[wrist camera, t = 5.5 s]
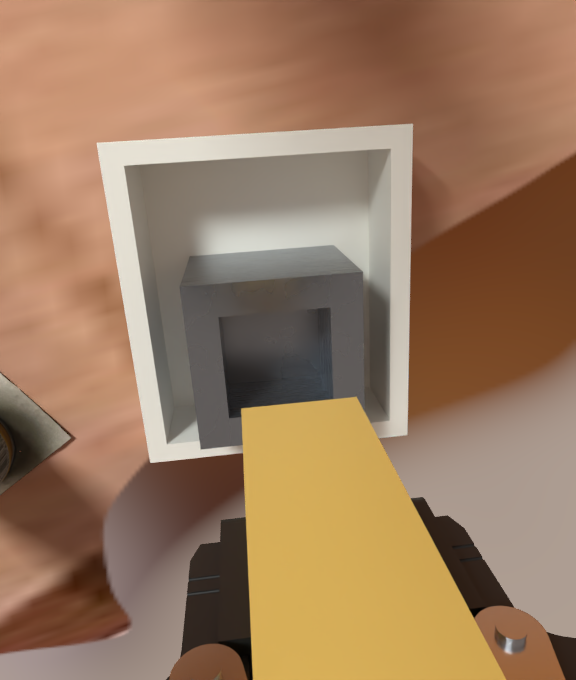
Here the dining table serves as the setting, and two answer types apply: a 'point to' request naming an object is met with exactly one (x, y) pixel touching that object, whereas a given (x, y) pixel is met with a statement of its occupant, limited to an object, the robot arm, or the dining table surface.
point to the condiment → (23, 434)
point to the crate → (258, 248)
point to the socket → (270, 333)
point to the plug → (345, 558)
